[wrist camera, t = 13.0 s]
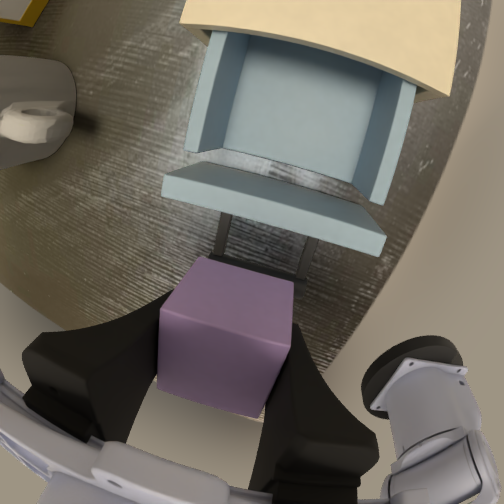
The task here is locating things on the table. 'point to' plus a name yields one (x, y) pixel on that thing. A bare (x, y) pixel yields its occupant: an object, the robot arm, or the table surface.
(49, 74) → the coffee mug
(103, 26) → the table surface
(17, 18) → the soap bottle
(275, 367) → the block
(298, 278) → the drawer
